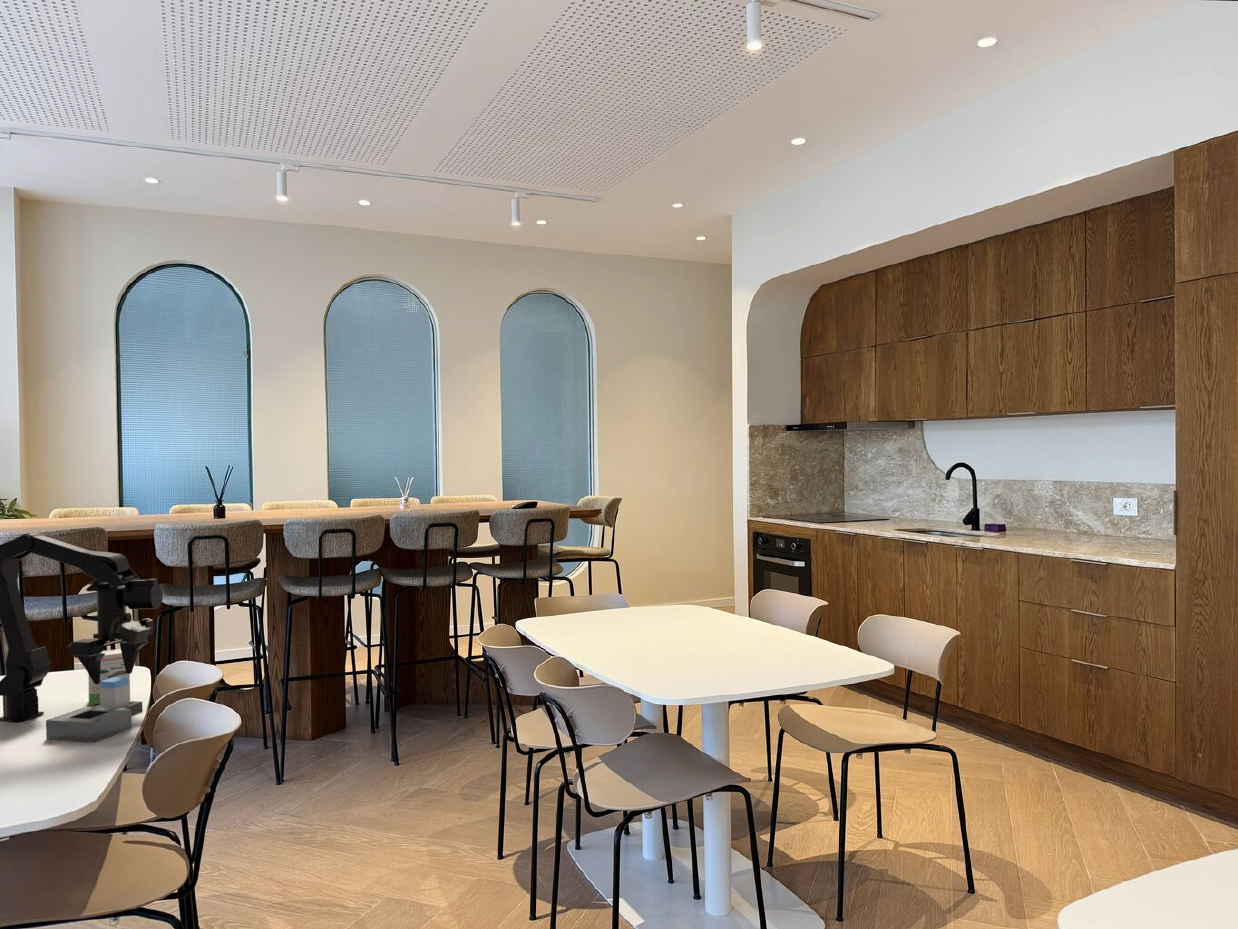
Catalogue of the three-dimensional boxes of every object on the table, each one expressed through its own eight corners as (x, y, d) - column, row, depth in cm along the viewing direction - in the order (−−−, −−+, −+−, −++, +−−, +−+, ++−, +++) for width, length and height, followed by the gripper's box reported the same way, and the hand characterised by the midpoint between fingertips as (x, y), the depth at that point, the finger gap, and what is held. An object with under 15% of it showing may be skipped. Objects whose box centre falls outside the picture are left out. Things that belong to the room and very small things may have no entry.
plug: (100, 716, 201) (99, 681, 201) (114, 711, 205) (113, 677, 205) (115, 717, 200) (114, 682, 200) (129, 712, 204) (128, 677, 204)
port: (46, 739, 185) (45, 718, 185) (86, 725, 195) (85, 705, 195) (94, 742, 182) (93, 721, 182) (131, 727, 192) (131, 707, 192)
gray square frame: (86, 718, 200) (86, 709, 200) (114, 708, 208) (114, 700, 208) (115, 720, 198) (115, 711, 198) (142, 710, 206) (142, 701, 206)
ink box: (89, 706, 211) (88, 656, 211) (88, 701, 215) (87, 652, 215) (131, 699, 215) (129, 651, 215) (129, 695, 220) (127, 647, 220)
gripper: (108, 618, 192) (110, 690, 192) (171, 603, 210) (173, 670, 210) (65, 617, 194) (67, 688, 194) (132, 602, 212) (133, 668, 213)
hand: (113, 678), depth 203 cm, fingers open, 9 cm apart
